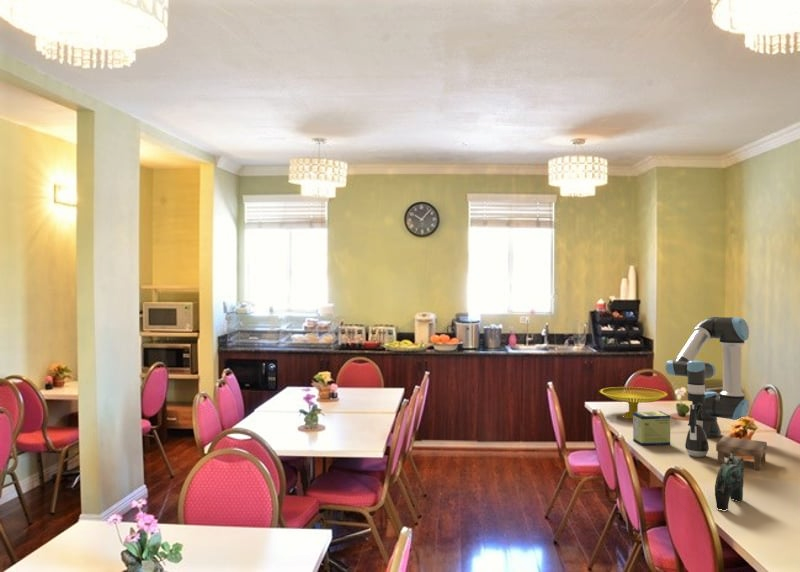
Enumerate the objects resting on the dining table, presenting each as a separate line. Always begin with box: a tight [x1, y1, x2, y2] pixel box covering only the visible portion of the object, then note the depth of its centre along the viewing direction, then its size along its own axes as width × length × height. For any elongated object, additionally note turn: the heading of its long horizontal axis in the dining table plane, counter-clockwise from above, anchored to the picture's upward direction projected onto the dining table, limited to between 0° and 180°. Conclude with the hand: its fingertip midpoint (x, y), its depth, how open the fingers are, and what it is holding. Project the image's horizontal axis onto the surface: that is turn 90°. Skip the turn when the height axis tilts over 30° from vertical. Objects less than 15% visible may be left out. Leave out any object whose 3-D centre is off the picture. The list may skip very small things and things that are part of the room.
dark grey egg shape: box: [684, 424, 710, 458], centre depth 286 cm, size 10×10×15 cm
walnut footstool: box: [715, 435, 768, 472], centre depth 275 cm, size 18×18×9 cm
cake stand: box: [598, 386, 669, 419], centre depth 370 cm, size 40×40×15 cm
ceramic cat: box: [714, 451, 745, 510], centre depth 224 cm, size 20×6×20 cm, turn 131°
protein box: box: [632, 410, 671, 447], centre depth 310 cm, size 10×16×16 cm
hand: (696, 436), depth 286 cm, fingers open, 13 cm apart
